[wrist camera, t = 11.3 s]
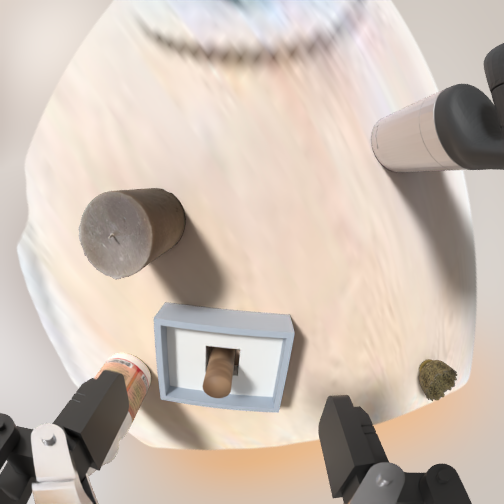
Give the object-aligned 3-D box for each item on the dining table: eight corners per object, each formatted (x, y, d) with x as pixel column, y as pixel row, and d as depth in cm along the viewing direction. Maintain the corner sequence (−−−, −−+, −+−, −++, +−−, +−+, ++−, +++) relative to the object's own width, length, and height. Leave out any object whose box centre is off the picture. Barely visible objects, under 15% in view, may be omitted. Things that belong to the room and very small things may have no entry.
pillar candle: (181, 184, 40) (142, 183, 25) (189, 249, 42) (155, 280, 27) (123, 193, 40) (66, 198, 26) (132, 254, 42) (81, 284, 28)
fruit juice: (162, 380, 48) (112, 500, 20) (131, 395, 49) (78, 499, 22) (128, 343, 46) (51, 455, 19) (100, 361, 47) (28, 458, 20)
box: (289, 314, 44) (294, 332, 38) (276, 390, 48) (278, 412, 42) (165, 302, 44) (153, 318, 38) (168, 379, 48) (160, 399, 42)
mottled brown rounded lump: (416, 384, 48) (432, 406, 41) (405, 367, 47) (422, 390, 39) (442, 362, 47) (460, 382, 39) (433, 343, 46) (453, 363, 38)
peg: (236, 342, 46) (231, 379, 36) (234, 362, 46) (230, 399, 37) (212, 340, 45) (202, 375, 36) (211, 359, 46) (202, 396, 37)
